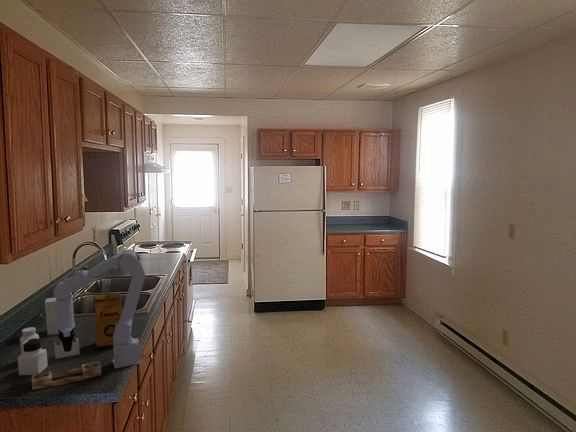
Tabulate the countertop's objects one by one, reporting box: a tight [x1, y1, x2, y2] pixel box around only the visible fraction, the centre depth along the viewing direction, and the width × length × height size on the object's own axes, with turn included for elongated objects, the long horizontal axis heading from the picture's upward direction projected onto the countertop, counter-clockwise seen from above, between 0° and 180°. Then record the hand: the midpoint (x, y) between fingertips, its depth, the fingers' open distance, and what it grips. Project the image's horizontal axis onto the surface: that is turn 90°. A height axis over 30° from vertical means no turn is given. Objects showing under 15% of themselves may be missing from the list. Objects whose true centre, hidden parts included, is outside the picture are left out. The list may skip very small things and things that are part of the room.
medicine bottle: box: [17, 338, 49, 376], centre depth 167 cm, size 7×7×12 cm
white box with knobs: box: [54, 337, 80, 360], centre depth 167 cm, size 8×4×6 cm, turn 118°
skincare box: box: [44, 296, 60, 336], centre depth 206 cm, size 8×7×16 cm
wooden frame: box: [31, 360, 102, 391], centre depth 161 cm, size 22×7×3 cm, turn 118°
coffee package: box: [93, 292, 123, 348], centre depth 191 cm, size 10×12×22 cm
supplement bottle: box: [19, 326, 40, 355], centre depth 176 cm, size 7×7×13 cm
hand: (67, 348), depth 167 cm, fingers closed on white box with knobs, 4 cm apart
